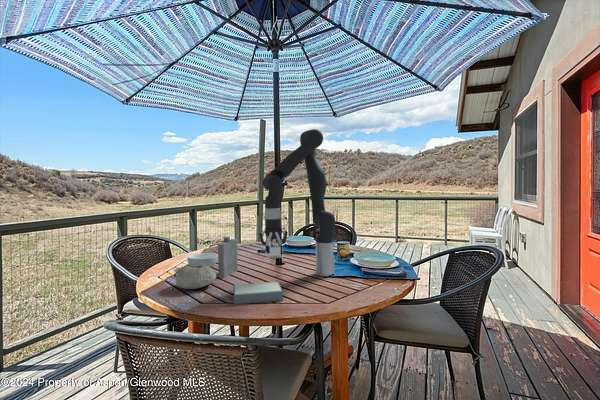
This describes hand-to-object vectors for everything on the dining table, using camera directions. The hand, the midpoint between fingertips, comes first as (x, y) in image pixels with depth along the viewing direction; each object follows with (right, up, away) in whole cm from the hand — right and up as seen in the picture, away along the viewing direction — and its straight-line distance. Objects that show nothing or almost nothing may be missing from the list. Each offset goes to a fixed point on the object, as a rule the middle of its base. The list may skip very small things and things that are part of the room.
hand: (273, 252), depth 158 cm
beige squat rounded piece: (-36, -16, -2) cm, 39 cm away
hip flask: (-26, -14, +18) cm, 35 cm away
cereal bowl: (-43, -14, +32) cm, 55 cm away
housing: (0, -1, 0) cm, 1 cm away
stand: (-6, -16, -17) cm, 24 cm away
